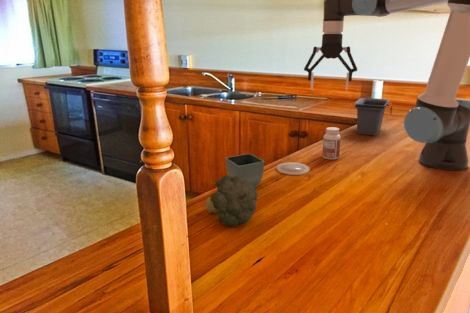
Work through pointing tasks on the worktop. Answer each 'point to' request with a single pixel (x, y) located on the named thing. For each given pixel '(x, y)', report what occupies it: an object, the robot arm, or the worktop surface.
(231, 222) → the vegetable
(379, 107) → the storage bin
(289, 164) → the coaster
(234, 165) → the flower pot
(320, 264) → the worktop surface
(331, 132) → the pill bottle
